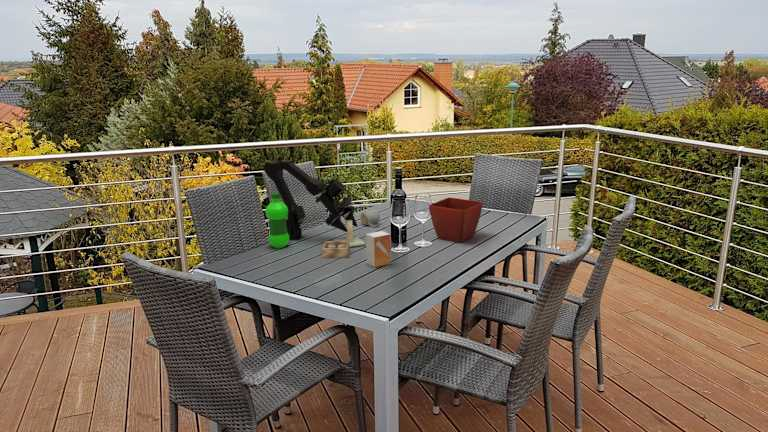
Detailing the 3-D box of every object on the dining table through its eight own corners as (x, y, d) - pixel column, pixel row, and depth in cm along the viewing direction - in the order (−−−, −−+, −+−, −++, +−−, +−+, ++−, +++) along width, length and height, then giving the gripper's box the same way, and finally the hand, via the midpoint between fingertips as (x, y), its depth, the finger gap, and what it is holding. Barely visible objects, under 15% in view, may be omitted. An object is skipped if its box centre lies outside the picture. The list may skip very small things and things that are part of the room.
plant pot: (463, 246, 248) (463, 210, 244) (427, 239, 260) (427, 204, 255) (483, 236, 263) (483, 201, 259) (448, 230, 274) (448, 197, 270)
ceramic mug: (359, 224, 289) (359, 210, 287) (373, 221, 293) (372, 207, 291) (370, 228, 280) (370, 214, 278) (383, 226, 285) (383, 212, 282)
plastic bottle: (263, 248, 252) (259, 195, 246) (278, 241, 261) (274, 190, 255) (281, 250, 248) (276, 197, 241) (295, 244, 257) (291, 192, 250)
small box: (374, 267, 223) (373, 237, 220) (366, 263, 228) (365, 233, 225) (391, 263, 228) (390, 233, 224) (382, 259, 233) (382, 230, 229)
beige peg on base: (342, 249, 248) (341, 225, 245) (334, 242, 258) (333, 219, 256) (365, 246, 252) (364, 222, 249) (357, 239, 263) (356, 216, 260)
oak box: (322, 257, 237) (322, 249, 236) (325, 249, 248) (325, 241, 247) (348, 257, 237) (347, 248, 236) (349, 249, 248) (349, 240, 247)
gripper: (329, 196, 243) (352, 223, 241) (350, 188, 259) (371, 213, 257) (315, 212, 248) (337, 238, 246) (336, 203, 264) (357, 227, 262)
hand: (352, 228), depth 253 cm, fingers open, 9 cm apart
